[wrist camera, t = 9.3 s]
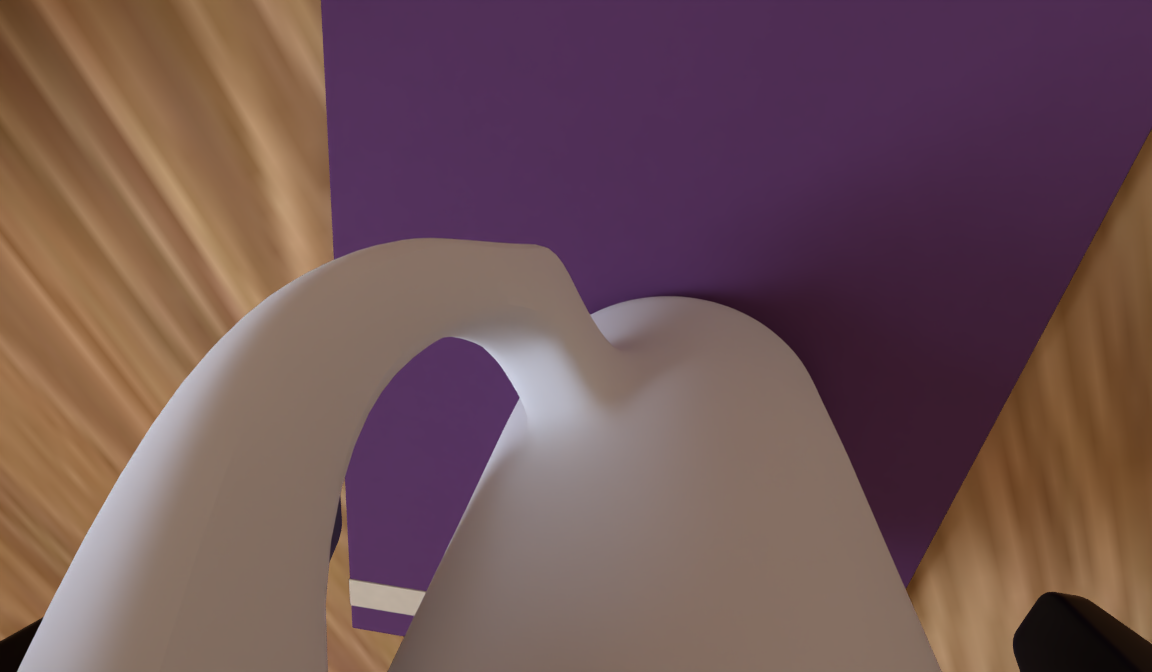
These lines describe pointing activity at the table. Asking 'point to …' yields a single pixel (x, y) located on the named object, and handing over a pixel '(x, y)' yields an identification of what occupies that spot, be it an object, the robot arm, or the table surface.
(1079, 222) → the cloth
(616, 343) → the mug
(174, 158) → the table surface
